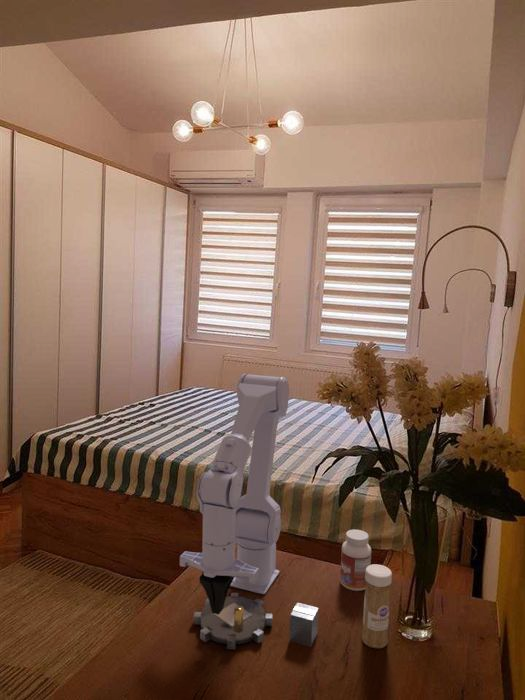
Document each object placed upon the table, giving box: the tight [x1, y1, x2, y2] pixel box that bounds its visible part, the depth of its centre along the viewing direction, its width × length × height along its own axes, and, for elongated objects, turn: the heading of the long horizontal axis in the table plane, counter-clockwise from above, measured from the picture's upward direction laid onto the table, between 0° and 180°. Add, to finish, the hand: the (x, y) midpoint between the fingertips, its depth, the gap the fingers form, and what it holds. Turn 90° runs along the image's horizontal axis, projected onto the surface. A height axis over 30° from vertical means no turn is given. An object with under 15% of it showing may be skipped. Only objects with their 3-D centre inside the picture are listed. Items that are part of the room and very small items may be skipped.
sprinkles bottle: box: [361, 563, 393, 649], centre depth 93 cm, size 5×5×13 cm
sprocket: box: [193, 592, 273, 650], centre depth 97 cm, size 14×14×6 cm
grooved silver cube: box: [289, 602, 319, 648], centre depth 94 cm, size 4×4×5 cm
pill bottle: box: [339, 529, 372, 592], centre depth 112 cm, size 6×6×11 cm
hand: (217, 610), depth 94 cm, fingers closed
